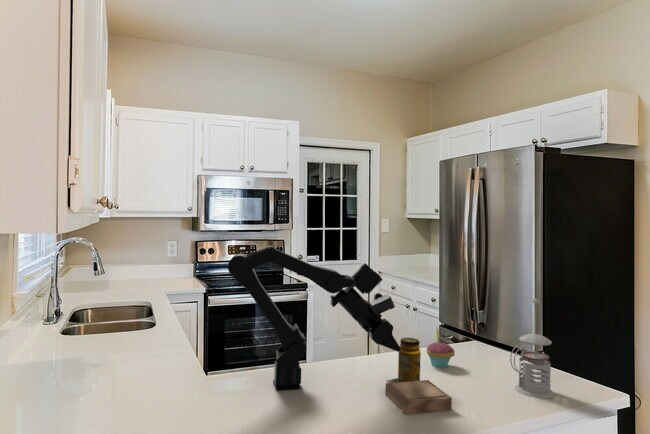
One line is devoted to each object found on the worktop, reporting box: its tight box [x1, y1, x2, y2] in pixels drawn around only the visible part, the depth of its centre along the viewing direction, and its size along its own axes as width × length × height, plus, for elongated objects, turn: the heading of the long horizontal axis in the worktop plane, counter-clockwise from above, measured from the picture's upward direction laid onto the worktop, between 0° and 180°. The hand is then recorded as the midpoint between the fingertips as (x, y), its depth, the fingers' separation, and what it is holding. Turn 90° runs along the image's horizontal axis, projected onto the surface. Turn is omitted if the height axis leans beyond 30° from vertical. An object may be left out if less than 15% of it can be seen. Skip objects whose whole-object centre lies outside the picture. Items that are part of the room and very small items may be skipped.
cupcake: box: [426, 327, 456, 369], centre depth 142 cm, size 9×8×12 cm
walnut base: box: [385, 379, 453, 415], centre depth 112 cm, size 12×12×3 cm
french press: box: [509, 298, 555, 399], centre depth 122 cm, size 10×12×25 cm
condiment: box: [386, 337, 421, 383], centre depth 126 cm, size 7×8×12 cm
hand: (394, 345), depth 125 cm, fingers open, 9 cm apart
